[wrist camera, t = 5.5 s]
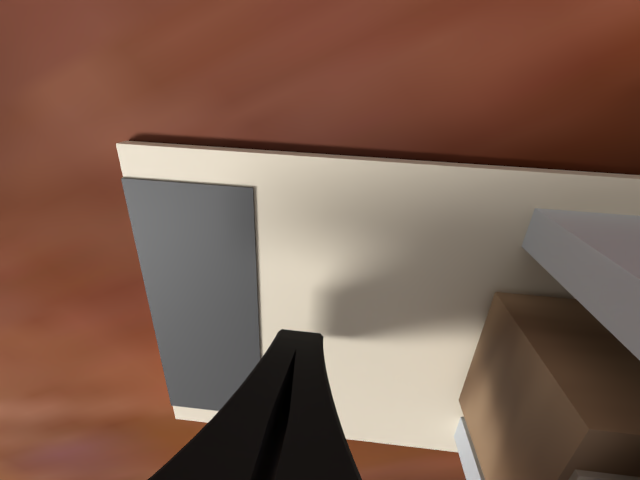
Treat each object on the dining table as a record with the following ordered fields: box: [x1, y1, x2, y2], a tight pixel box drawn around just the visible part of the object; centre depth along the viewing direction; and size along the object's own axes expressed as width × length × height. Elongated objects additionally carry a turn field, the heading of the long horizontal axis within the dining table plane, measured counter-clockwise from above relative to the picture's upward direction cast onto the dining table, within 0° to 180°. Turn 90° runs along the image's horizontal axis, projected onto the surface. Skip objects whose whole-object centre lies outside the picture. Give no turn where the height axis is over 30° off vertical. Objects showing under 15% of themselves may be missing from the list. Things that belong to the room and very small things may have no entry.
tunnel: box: [116, 141, 640, 480], centre depth 9 cm, size 12×28×7 cm, turn 87°
